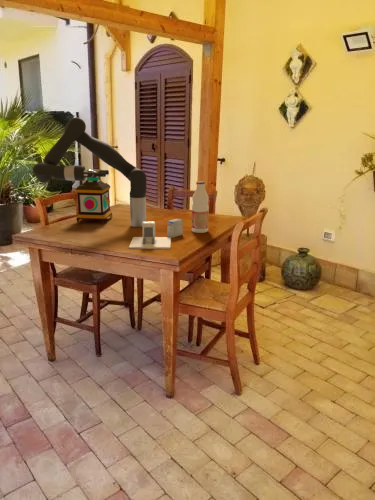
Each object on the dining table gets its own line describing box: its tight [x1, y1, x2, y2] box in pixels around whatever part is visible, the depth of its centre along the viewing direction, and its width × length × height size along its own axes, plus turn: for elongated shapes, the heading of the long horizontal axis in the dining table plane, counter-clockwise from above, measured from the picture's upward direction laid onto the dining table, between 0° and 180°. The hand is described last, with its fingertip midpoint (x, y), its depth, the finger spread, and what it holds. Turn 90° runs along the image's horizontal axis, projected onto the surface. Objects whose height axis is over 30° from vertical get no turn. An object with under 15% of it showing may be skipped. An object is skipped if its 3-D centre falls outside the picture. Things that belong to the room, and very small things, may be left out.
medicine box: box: [166, 218, 184, 239], centre depth 222 cm, size 8×4×9 cm, turn 141°
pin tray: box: [128, 236, 172, 250], centre depth 208 cm, size 18×20×3 cm
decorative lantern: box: [74, 177, 113, 225], centre depth 250 cm, size 20×20×30 cm
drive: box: [141, 220, 156, 243], centre depth 207 cm, size 4×6×10 cm
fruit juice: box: [191, 180, 210, 234], centre depth 229 cm, size 9×9×28 cm
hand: (107, 173), depth 206 cm, fingers open, 8 cm apart
